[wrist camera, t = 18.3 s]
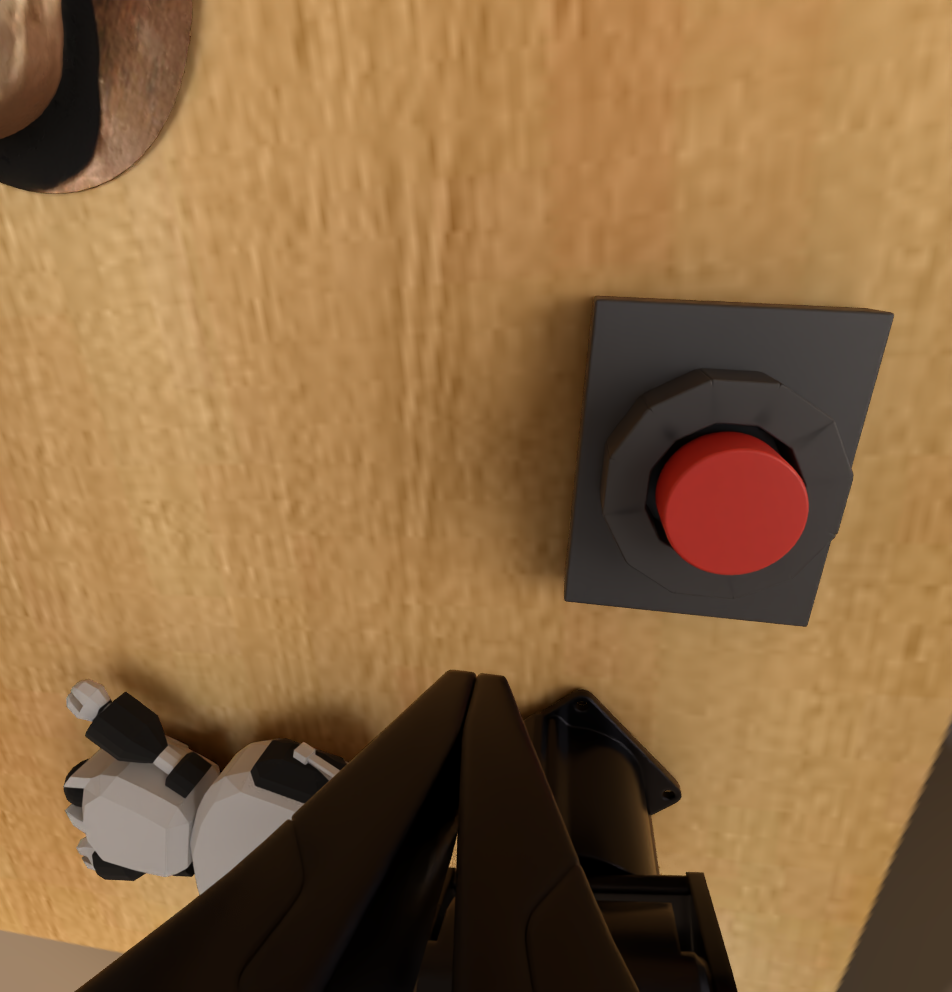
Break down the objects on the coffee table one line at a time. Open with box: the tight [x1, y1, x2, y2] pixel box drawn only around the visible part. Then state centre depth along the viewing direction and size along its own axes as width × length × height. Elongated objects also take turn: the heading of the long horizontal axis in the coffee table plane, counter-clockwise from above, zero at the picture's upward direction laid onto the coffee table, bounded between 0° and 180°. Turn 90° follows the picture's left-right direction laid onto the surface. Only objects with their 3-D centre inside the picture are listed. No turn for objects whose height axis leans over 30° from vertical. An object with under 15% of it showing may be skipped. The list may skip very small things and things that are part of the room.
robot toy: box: [63, 679, 349, 895], centre depth 27 cm, size 12×4×15 cm
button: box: [655, 431, 809, 575], centre depth 17 cm, size 4×4×2 cm
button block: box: [564, 296, 894, 627], centre depth 19 cm, size 10×8×4 cm
